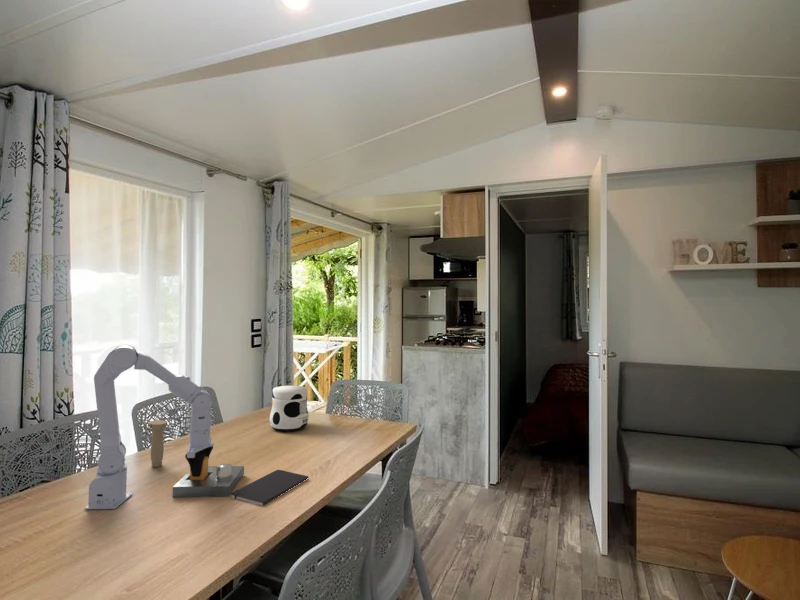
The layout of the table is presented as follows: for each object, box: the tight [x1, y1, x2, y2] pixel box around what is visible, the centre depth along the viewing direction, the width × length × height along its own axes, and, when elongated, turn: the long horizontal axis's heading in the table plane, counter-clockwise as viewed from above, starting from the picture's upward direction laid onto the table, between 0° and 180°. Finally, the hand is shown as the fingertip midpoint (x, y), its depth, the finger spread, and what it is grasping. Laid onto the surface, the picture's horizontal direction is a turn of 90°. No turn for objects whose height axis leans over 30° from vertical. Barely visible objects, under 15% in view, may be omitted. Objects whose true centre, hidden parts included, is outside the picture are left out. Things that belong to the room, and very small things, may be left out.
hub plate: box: [171, 463, 245, 498], centre depth 136 cm, size 16×16×6 cm
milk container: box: [269, 385, 310, 432], centre depth 200 cm, size 17×17×18 cm
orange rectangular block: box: [189, 456, 209, 480], centre depth 136 cm, size 4×4×6 cm
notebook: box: [230, 469, 309, 506], centre depth 136 cm, size 13×2×21 cm
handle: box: [147, 419, 168, 468], centre depth 152 cm, size 5×6×15 cm
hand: (199, 473), depth 136 cm, fingers closed on orange rectangular block, 4 cm apart
